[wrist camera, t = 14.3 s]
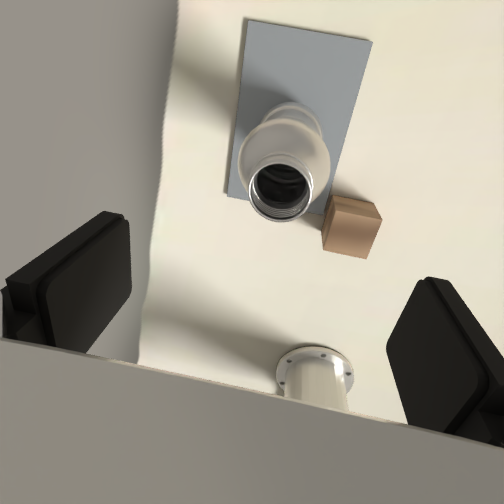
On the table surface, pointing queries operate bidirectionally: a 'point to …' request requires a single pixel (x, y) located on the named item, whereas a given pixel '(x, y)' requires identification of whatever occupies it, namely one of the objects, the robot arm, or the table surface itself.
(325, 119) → the slate mat
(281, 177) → the plastic bottle
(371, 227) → the walnut block
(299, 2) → the table surface
